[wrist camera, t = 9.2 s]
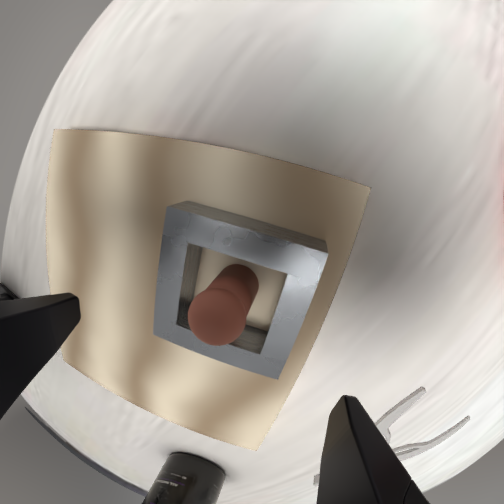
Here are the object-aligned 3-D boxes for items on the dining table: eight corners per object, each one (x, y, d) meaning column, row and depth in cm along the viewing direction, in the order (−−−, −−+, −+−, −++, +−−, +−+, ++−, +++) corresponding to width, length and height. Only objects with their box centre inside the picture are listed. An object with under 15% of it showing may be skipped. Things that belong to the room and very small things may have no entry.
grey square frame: (170, 315, 14) (152, 334, 12) (187, 200, 12) (166, 206, 10) (282, 355, 14) (277, 379, 12) (325, 240, 12) (328, 253, 10)
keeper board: (73, 352, 21) (36, 384, 15) (69, 129, 14) (3, 129, 9) (260, 437, 18) (244, 494, 13) (364, 185, 12) (404, 196, 6)
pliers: (474, 426, 13) (355, 495, 18) (469, 414, 15) (355, 485, 20) (424, 397, 13) (287, 478, 18) (418, 382, 15) (289, 465, 20)
